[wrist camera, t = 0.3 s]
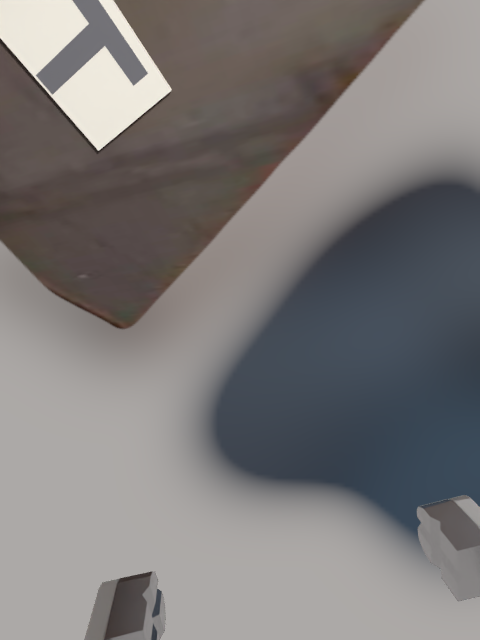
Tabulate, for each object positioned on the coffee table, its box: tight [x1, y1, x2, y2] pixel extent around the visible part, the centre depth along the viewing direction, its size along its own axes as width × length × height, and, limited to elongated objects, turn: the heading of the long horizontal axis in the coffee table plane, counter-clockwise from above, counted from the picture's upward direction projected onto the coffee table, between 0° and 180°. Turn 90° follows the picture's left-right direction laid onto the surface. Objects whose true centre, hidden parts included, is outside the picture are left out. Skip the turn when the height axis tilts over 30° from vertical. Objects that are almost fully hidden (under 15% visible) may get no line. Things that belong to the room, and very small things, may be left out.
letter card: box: [0, 0, 172, 151], centre depth 42 cm, size 18×13×1 cm
